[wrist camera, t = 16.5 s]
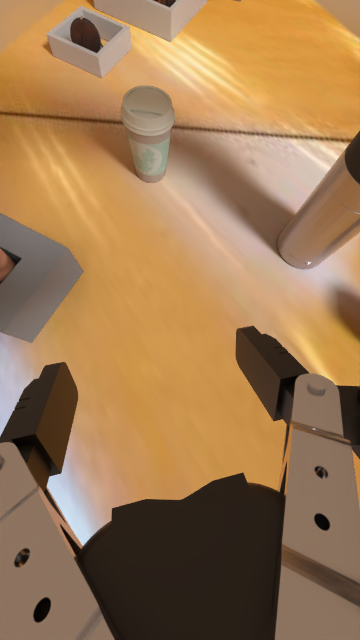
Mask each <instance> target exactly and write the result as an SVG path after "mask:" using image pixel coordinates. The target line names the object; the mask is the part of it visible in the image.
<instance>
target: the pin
mask: <svg viewBox="0 0 360 640" xmlns="http://www.w3.org/2000/svg"><path fill="white" fill-rule="evenodd" d="M16 265H17V263H16V262H15V261H14V260H12V259H11V258H10V257H9V256H8V255H7V254H6V253H5V252H4V251H2V250H1V249H0V284H1V283H2V282H3V281H4V279H5V278H6V277H7V276H8V275H9V273H10V272H11V271H12V270H13V269H14V268H15V266H16Z"/></svg>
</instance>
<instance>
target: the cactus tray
mask: <svg viewBox="0 0 360 640" xmlns="http://www.w3.org/2000/svg"><path fill="white" fill-rule="evenodd" d="M206 3H207V0H177V1H176V2H175V3H174V4H173V5H172V6H171V7H170V8H169V7H167V6H165V5H162V4H160V3H158V2H155V1H153V0H94V6H95V9H97V10H99V11H101V12H104V13H106V14H108V15H111V16H113V17H115V18H117V19H120V20H122V21H124V22H127V23H129V24H131V25H133V26H136V27H138V28H140V29H143V30H145V31H147V32H149V33H152V34H154V35H156V36H159V37H161V38H163V39H165V40H168V41H170V42H171V41H172V40H173V39H174V38H175V37H176V35H177V34H178V33H179V32H180V31H181V30H182V29H183V28H184V27H185V26H186V25H187V23H188V22H189V21H190V20H191V19H192V18H193V17H194V16H195V15H196V14H197V13H198V11H199V10H200V9H201V8H202V7H203V6H204V5H205V4H206Z"/></svg>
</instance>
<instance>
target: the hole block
mask: <svg viewBox="0 0 360 640" xmlns="http://www.w3.org/2000/svg"><path fill="white" fill-rule="evenodd" d="M0 249H1V250H2V251H4V252H5V253H6V254H7V255H8V256H9V257H10V258H11V259H12V260H14V261H15V262H16V263H17V265H16V266H15V268H14V269H13V270H12V271H11V272H10V273H9V275H8V276H7V277H6V278H5V279H4V281H3V282H2V283H1V284H0V332H2V333H5V334H8V335H11V336H13V337H16V338H19V339H22V340H25V341H28V342H31V343H32V342H33V340H34V339H35V338H36V336H37V335H38V334H39V332H40V331H41V329H42V328H43V327H44V325H45V324H46V323H47V321H48V320H49V318H50V317H51V316H52V314H53V313H54V312H55V310H56V309H57V307H58V306H59V305H60V303H61V302H62V301H63V299H64V298H65V296H66V295H67V294H68V292H69V291H70V290H71V288H72V287H73V286H74V284H75V283H76V281H77V280H78V279H79V277H80V276H81V275H82V273H83V272H84V271H83V270H82V268H81V267H80V265H79V264H78V262H77V261H76V259H75V258H74V256H73V255H72V253H71V252H70V250H69V249H68V248H67V247H65V246H63V245H61V244H59V243H57V242H55V241H53V240H51V239H49V238H47V237H45V236H44V235H42V234H40V233H38V232H36V231H34V230H32V229H30V228H28V227H26V226H24V225H22V224H20V223H18V222H16V221H15V220H13V219H11V218H9V217H7V216H5V215H3V214H1V213H0Z"/></svg>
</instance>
